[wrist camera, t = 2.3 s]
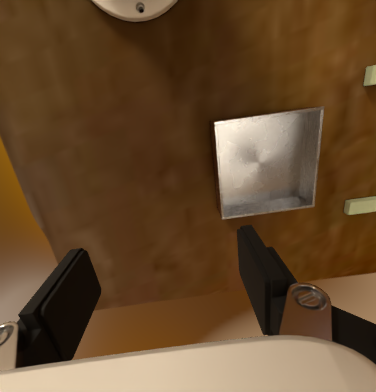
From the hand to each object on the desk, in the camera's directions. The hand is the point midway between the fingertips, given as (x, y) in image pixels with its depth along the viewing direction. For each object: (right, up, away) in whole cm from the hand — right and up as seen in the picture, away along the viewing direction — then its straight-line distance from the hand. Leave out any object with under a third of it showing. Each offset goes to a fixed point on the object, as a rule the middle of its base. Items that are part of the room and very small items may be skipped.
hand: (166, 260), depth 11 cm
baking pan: (+11, +8, +17) cm, 21 cm away
